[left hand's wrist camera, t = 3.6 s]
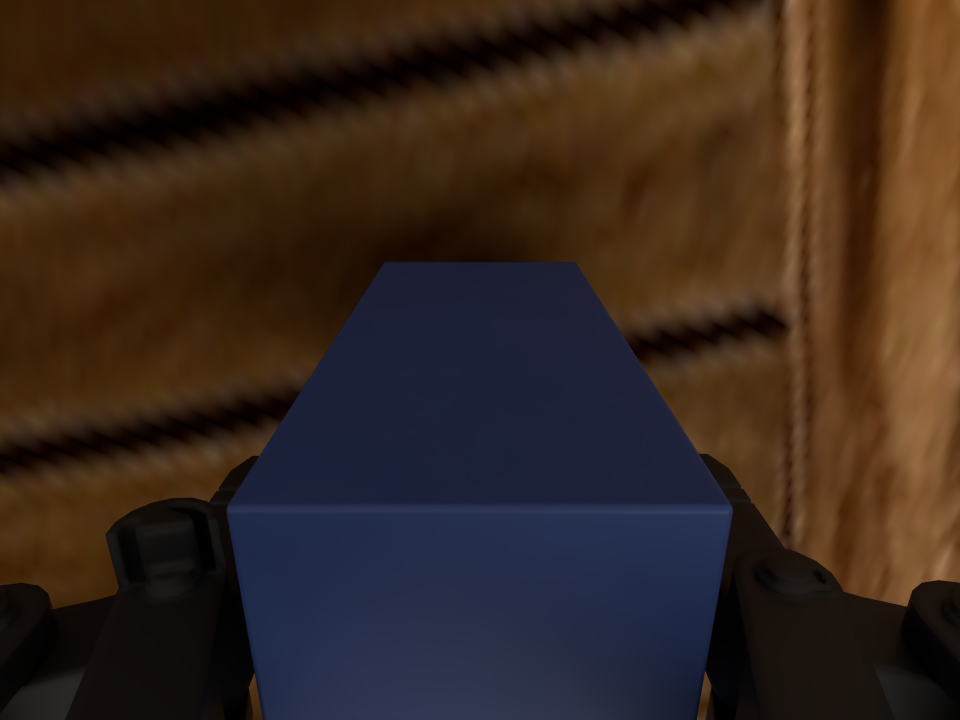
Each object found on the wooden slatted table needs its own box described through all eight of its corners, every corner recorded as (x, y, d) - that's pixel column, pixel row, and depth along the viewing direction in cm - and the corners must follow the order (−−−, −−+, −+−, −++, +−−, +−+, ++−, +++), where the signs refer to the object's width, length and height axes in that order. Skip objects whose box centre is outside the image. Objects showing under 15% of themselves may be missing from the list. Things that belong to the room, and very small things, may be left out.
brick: (576, 261, 16) (737, 507, 6) (564, 471, 18) (667, 903, 8) (383, 261, 16) (222, 507, 6) (394, 471, 18) (292, 903, 8)
